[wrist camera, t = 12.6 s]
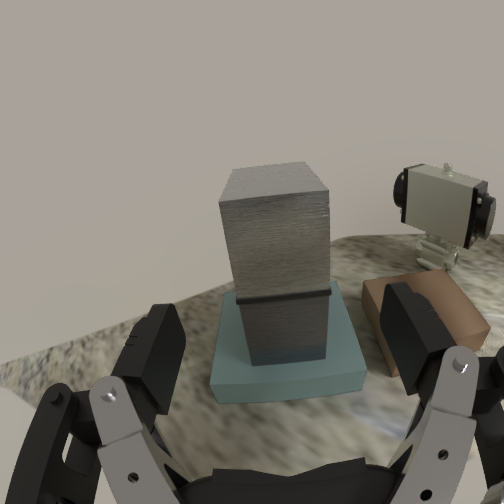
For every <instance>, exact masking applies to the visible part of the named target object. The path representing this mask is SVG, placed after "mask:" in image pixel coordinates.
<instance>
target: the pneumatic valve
mask: <svg viewBox="0 0 504 504" xmlns="http://www.w3.org/2000/svg"><path fill="white" fill-rule="evenodd" d="M487 187H488V182H486V181H483V180H480V179H477V178H473V177H470V176H467V175H463V174H460V173H456V172H452V165H451V164H447V163H444V169H441V168H437V167H433V166H429V165H425V164H419V165H415V166H411V167H407V168H404V171H403V172H401V173H400V174H399V175H398V177H397V179H396V181H395V185H394V191H393V197H394V202H395V204H396V205H397V206H398V207H400V208H402V209H401V210H400V213H401V214H402V215H401V222H402V223H405V224H408V225H410V226H413V227H415V228H418V229H420V230H423V231H425V232H426V235H429V236H428V237H427V236H421V237H420V238H419V239H418V241H417V244H416V249H415V250H416V253H417V255H419V256H420V257H418V258H417V262H418V263H419V265H421V266H423V267H425V268H427V269H429V270H437V269H442V268H443V269H444V270H445V269H446V268H447V269H449V270H453V269H454V268H455V266H456V264H457V261H458V258H459V251H458V250H457V249H455V248H456V246H457V245H459V246H461V247H463V248H466V249H469V248H470V247H471V246H472V245H473V243H474V242H475V241H476V240H477V238H478V237H479V238H481V239H484V240H486V239H487V238H488V236H489V234H490V231H491V228H492V225H493V221H494V216H495V210H496V199H495V198H494V197H491V196H489V192H488V191H487Z"/></svg>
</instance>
